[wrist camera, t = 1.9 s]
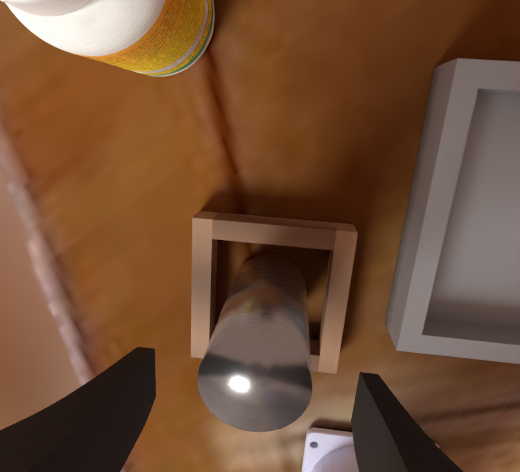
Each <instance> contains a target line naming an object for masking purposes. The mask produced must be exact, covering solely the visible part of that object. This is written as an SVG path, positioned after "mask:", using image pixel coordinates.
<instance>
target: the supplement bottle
mask: <svg viewBox="0 0 520 472" xmlns="http://www.w3.org/2000/svg"><path fill="white" fill-rule="evenodd" d="M1 1H3V2H5V3H6V4H7V6H8V7H9V8H10V10H11V11H12V12H13V14H14V15H15V16H16V17H17V18H18V19H19V20H20V21H21V22H22V23H23V24H24V25H25V26H26V27H27V28H28V29H29V30H30V31H31V32H33V33H34V34H35V35H37V36H38V37H39V38H41V39H42V40H44V41H46V42H47V43H49V44H51V45H53V46H55V47H57V48H59V49H62V50H64V51H67V52H70V53H73V54H77V55H80V56H84V57H87V58H91V59H94V60H98V61H101V62H105V63H108V64H111V65H115V66H118V67H121V68H124V69H128V70H131V71H134V72H138V73H141V74H145V75H149V76H169V75H173V74H177V73H179V72H182V71H184V70H186V69H187V68H189V67H190V66H192V65H193V64H194V63H195V62H196V61H197V60H198V59H199V58H200V57H201V56H202V54H203V53H204V51H205V50H206V48H207V46H208V44H209V42H210V40H211V37H212V33H213V29H214V19H215V13H214V2H213V0H1Z"/></svg>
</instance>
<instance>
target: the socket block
mask: <svg viewBox="0 0 520 472" xmlns="http://www.w3.org/2000/svg"><path fill="white" fill-rule="evenodd" d="M357 236H358V232H357V230H356V228H355V226H354V224H347V223H336V222H324V221H313V220H301V219H290V218H279V217H267V216H256V215H244V214H233V213H221V212H210V211H199V212H198V213H197V214H196V215H195V216H194V217H193V218H192V303H191V357H195V358H203V357H204V355H205V352H206V350H207V347H208V344H209V342H210V339H211V337H212V334H213V332H214V329H215V311H216V280H217V248H218V240H228V241H238V242H249V243H260V244H271V245H281V246H292V247H303V248H314V249H325V250H330V255H329V262H328V270H327V278H326V285H325V293H324V300H323V308H322V316H321V323H320V331H319V338H318V340H313V339H309V341H310V358H311V371H316V372H325V373H333V374H336V373H337V366H338V360H339V353H340V347H341V340H342V334H343V327H344V321H345V314H346V308H347V301H348V295H349V288H350V282H351V275H352V269H353V262H354V256H355V249H356V243H357Z"/></svg>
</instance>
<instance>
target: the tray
mask: <svg viewBox="0 0 520 472" xmlns="http://www.w3.org/2000/svg"><path fill="white" fill-rule="evenodd" d="M385 325H386V327H387V329H388V332H389V334H390V336H391V339H392V341H393V343H394V346H395V348H396V350H397V351H406V352H415V353H424V354H433V355H442V356H451V357H460V358H470V359H479V360H488V361H497V362H506V363H515V364H520V62H517V61H498V60H480V59H462V58H457V59H454V60H452V61H449V62H447V63H444V64H441V65H439V66H436V67H434V71H433V76H432V82H431V87H430V92H429V97H428V102H427V108H426V113H425V118H424V123H423V128H422V134H421V139H420V144H419V149H418V154H417V160H416V165H415V170H414V175H413V180H412V186H411V191H410V196H409V201H408V206H407V212H406V217H405V222H404V227H403V233H402V238H401V243H400V248H399V253H398V259H397V264H396V269H395V274H394V279H393V285H392V290H391V295H390V300H389V305H388V311H387V316H386V321H385Z"/></svg>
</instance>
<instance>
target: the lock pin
mask: <svg viewBox="0 0 520 472" xmlns="http://www.w3.org/2000/svg"><path fill="white" fill-rule="evenodd" d="M198 388H199V392H200V395H201V398H202V400H203V402H204V403H205V405H206V406H207V408H208V409H209V410H210V411H211V412H212V413H213V414H214V415H215V416H216V417H217V418H219V419H220V420H222V421H223V422H225V423H227V424H228V425H230V426H233V427H235V428H238V429H241V430H246V431H252V432H267V431H273V430H277V429H280V428H283V427H285V426H287V425H289V424H291V423H293V422H294V421H295V420H297V419H298V418H299V417H300V416H301V415H302V414H303V412H304V411H305V410H306V408H307V406H308V404H309V402H310V399H311V394H312V376H311V358H310V341H309V323H308V306H307V289H306V280H305V277H304V274H303V272H302V271H301V269H300V268H299V266H298V265H297V264H296V263H295V262H293V261H292V260H291V259H289V258H287V257H285V256H283V255H280V254H275V253H262V254H258V255H255V256H253V257H251V258H249V259H248V260H246V261H245V262H244V263H243V264H242V265H241V266H240V268H239V269H238V271H237V273H236V276H235V278H234V281H233V283H232V286H231V289H230V291H229V294H228V296H227V299H226V301H225V304H224V306H223V309H222V311H221V314H220V316H219V319H218V322H217V324H216V327H215V329H214V332H213V334H212V337H211V339H210V342H209V344H208V347H207V350H206V352H205V355H204V357H203V360H202V362H201V365H200V367H199V371H198Z"/></svg>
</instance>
